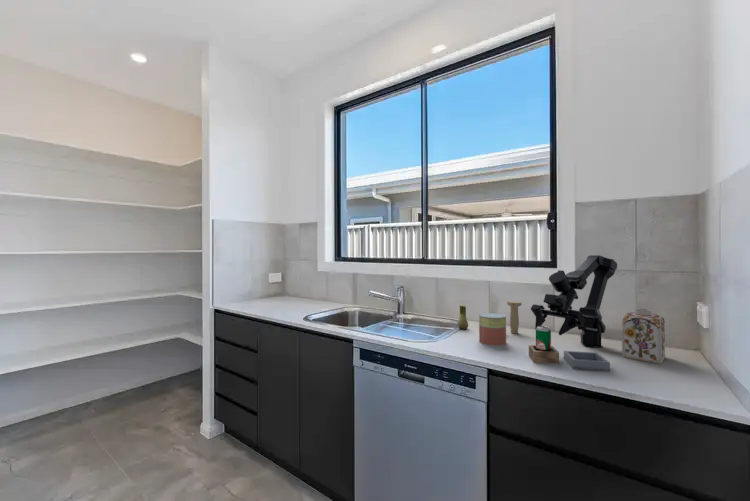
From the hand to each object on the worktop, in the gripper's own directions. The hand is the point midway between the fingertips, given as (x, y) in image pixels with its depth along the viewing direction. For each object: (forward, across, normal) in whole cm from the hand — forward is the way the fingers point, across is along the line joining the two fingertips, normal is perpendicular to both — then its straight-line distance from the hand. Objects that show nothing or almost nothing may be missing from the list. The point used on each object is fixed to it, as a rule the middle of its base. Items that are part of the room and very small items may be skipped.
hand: (547, 331), depth 128 cm
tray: (+4, +11, +10) cm, 16 cm away
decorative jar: (-15, +18, +29) cm, 38 cm away
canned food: (+7, -26, +7) cm, 27 cm away
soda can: (+9, 0, +5) cm, 10 cm away
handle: (-9, -31, +23) cm, 40 cm away
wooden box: (+9, 0, +5) cm, 10 cm away
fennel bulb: (+1, -51, +13) cm, 53 cm away
